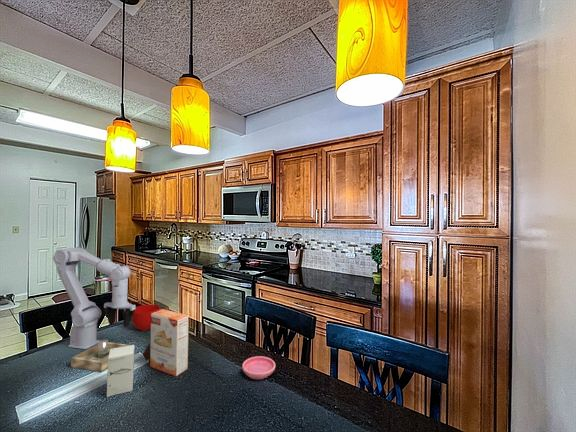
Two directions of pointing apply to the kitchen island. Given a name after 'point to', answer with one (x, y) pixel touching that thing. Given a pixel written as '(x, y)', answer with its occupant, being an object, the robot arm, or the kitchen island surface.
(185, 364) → the cracker box
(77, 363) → the open box
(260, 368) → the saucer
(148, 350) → the bolt
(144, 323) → the red bowl
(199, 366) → the kitchen island surface
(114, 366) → the supplement box
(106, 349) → the peg
